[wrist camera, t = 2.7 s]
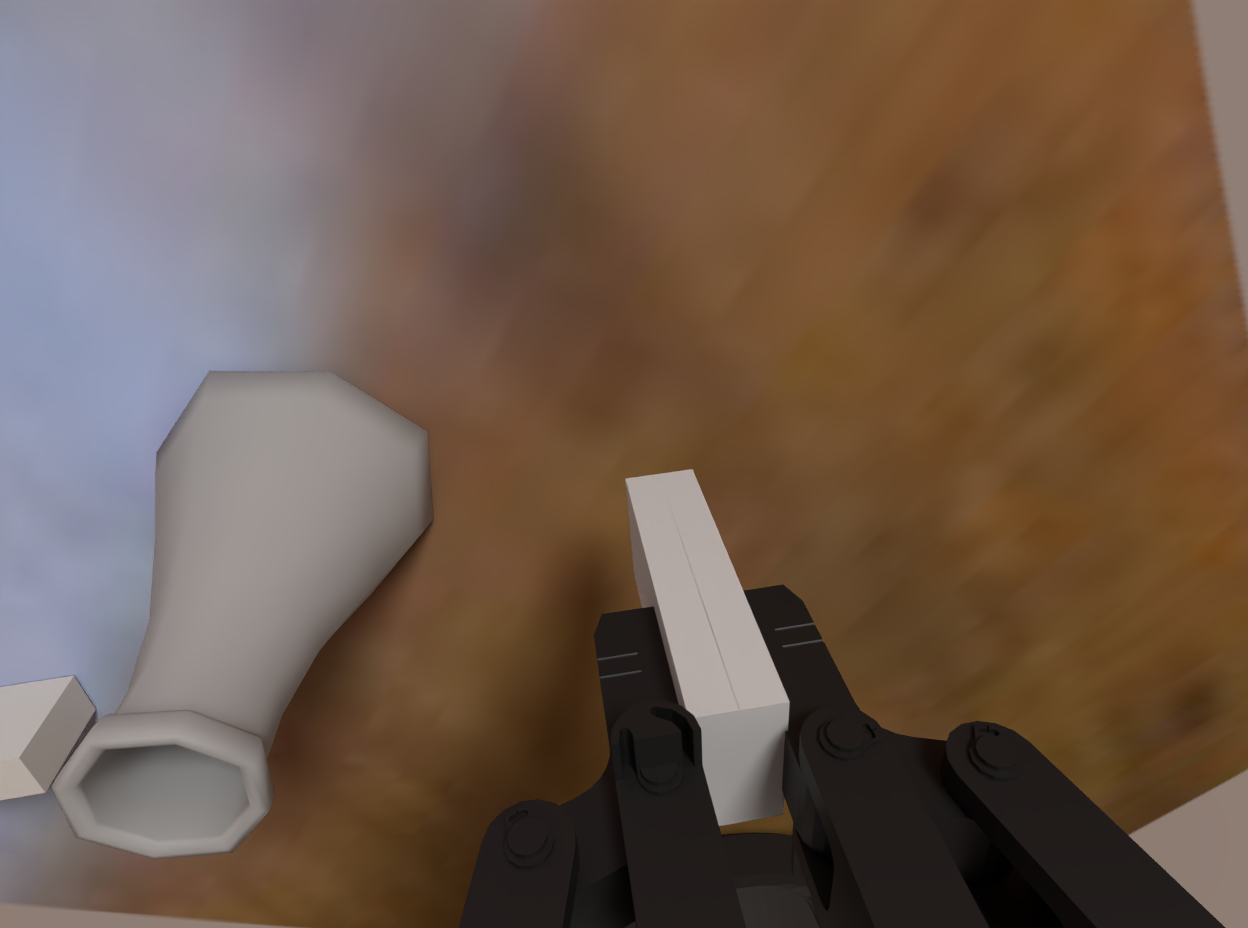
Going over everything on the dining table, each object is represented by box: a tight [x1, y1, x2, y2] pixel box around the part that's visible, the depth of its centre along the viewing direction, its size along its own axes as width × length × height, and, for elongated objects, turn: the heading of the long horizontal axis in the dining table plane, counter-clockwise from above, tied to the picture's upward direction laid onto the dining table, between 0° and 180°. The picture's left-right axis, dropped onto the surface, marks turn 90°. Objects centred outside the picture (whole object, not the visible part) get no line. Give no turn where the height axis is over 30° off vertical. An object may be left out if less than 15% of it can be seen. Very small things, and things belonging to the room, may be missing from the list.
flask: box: [52, 371, 434, 859], centre depth 16 cm, size 7×7×10 cm
